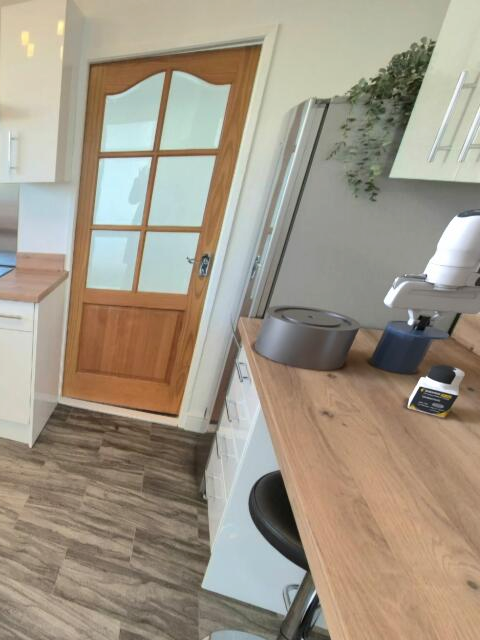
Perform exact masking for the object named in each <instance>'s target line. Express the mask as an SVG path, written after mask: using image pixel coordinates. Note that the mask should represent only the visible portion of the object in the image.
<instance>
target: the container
mask: <svg viewBox="0 0 480 640" xmlns="http://www.w3.org/2000/svg"><path fill="white" fill-rule="evenodd" d="M360 328H361V323H360V322H359V321H358V320H356V319H354V318H353V317H350V316H348V315H345V314H342V313H339V312H335V311H331V310H327V309H321V308H316V307H310V306H301V305H274V306H270V307H268V308H267V309H266V311H265V314H264V316H263V320H262V323H261V325H260V328H259V331H258V335H257V337H256V341H255V344H254V349H255V351H256V352H257V353H258V354H260V355H261V356H263V357H265V358H266V359H269V360H272V361H274V362H277V363H279V364H283V365H286V366H291V367H294V368H299V369H307V370H315V371H332V370H338V369H340V368H342V367H343V366H344V364H345V361H346V359H347V357H348V354H349V353H350V351H351V348H352V346H353V344H354V341H355V339H356V337H357V334H358V332H359V330H360Z"/></svg>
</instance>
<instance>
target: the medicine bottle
mask: <svg viewBox="0 0 480 640" xmlns="http://www.w3.org/2000/svg"><path fill="white" fill-rule="evenodd" d="M464 377H465V372H464V371H463V370H462V369H460V368H457V367H455V366H451V365H445V364H434V365H432V366H431V367H430V369H429V371H428V373H427V374H426V376H421V377H420V378H419V380H418V382H417V384H416V386H415V387H414V389H413V391H412V393H411V394H410V396H409V399H408V404H407V408H408V410H409V409H410V410H413V411H416V412H420V413H425V414H428V415H432V416H435V417H439V418H443V419H445V418H446V417H447V415H448V414H449V412H450V410H451V408H452V407H453V405H454V403H455V402H456V400H457V399H458V398H459V392H460V389H459V387H460V384H461V382H462V381H463V379H464Z"/></svg>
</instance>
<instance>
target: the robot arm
mask: <svg viewBox="0 0 480 640" xmlns="http://www.w3.org/2000/svg"><path fill="white" fill-rule="evenodd" d="M479 264H480V208H478V209H477V208H476V209H475V208H474V209H469V210H464V211H462V212H459V213H458V214H456V215H455V216H454V217H453V218H452V219H451V221H450V222H449V223H448V224H447V226H446V227H445V229H444V231H443V233H442V235H441V236H440V239H439V241H438V242H437V245H436V250H435V253H434V254H433V256H432V257H431V258H430V259H429V261H428V263H427V265H426V267H425V269H424V271H423V273H404V274H401V275H399V276H397V277H396V278H395V280H394V282H393V283H392V286H391V287H390V289H389V291H388V292H387V294H386V296H385V297H384V298H383V303H384V305H385V306H386V307H388V308H391V309H400V310H408V311H407V313H408V316H409V319H408V320H407V321H408V324H409V325H413V326H417V325H418V323H419V322H420V320H419V319H418V316H417V315H420V312H421V311H425V312H427V311H428V312H434V315H433V316H431V319H430V321H429V323H428V325H427V327H434V328H436V325H437V323H438V322H439V321H441V320H442V319H444V318H445V317H447V315H448V313H454V314H467V315H477V314H479V313H480V272H478V271H476V270H477V268H478V267H479Z"/></svg>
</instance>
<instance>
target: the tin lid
mask: <svg viewBox="0 0 480 640" xmlns="http://www.w3.org/2000/svg"><path fill="white" fill-rule="evenodd" d="M431 318H432V316H431V315H428V314H425V313H419V314H418V316H417V319H419V320H420V322H419V323H418V325H417V326H413V325H409V324H408V323H407V322H393V323H390V324H389V328H390V329H392V330H394V331H396V332H399V333H402V334H405V335H408V336H412V337H417V338H424V339H434V340H446V339H448V338H449V337H450V334H449V333H448V332H447V331H445V330H443V329H439V328H437V327H427V325H428V323H429V321H430V319H431Z"/></svg>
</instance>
